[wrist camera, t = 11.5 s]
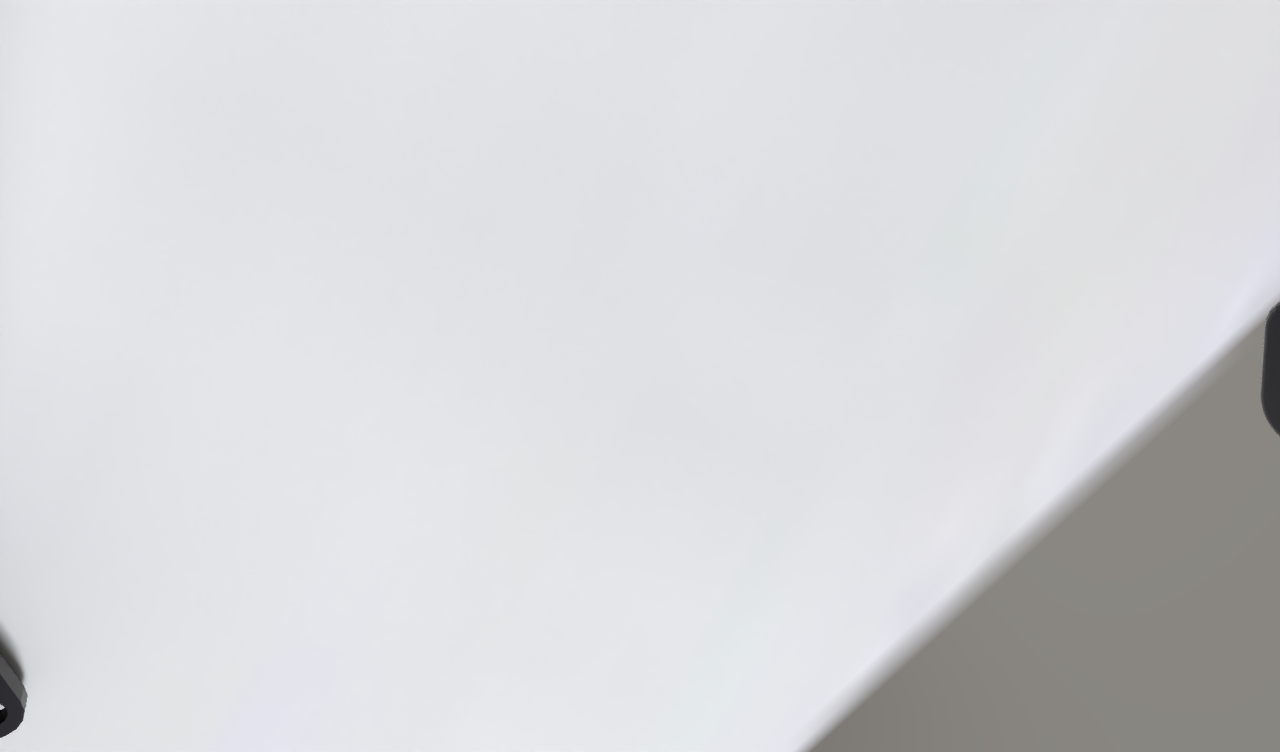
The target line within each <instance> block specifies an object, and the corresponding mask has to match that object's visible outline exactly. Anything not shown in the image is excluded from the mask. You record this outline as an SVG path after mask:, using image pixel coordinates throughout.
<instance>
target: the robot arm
mask: <svg viewBox="0 0 1280 752" xmlns="http://www.w3.org/2000/svg"><path fill="white" fill-rule="evenodd" d="M1263 348H1264V349H1263V364H1262V378H1261V379H1262V381H1261V404H1262V408H1263V411H1264V414H1265V416H1266V419H1267V420H1268V422H1269V424H1270V425H1271V427H1272V428H1273V430H1274V431H1275V432H1276V433H1277V434H1278V435H1279V436H1280V302H1279V303H1277V304H1276V305H1275V306H1274V307H1272V309H1271V310H1270V312H1269V314H1268V316H1267V318H1266V322H1265V332H1264V347H1263ZM26 702H27V693H26V690H25V688H24V686H23V684H22V683H21V682H20V680H19V679H18V677H17V676H16V675H15V673H14V672H13V671H12V669H11V668H10V666H9V665H8V664H7V662H6V661H5V659H4V658H3V657H2V655H1V654H0V704H1V705H3V706H4V707H5V708H4V709H2V710H0V738H1V737H3V736H6V735H7V734H9V733H11V732H12V731H14V730H16V729H17V727H18V726H19V725H20V723H21V722H22V721H23V717H24V712H25V707H26Z"/></svg>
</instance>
